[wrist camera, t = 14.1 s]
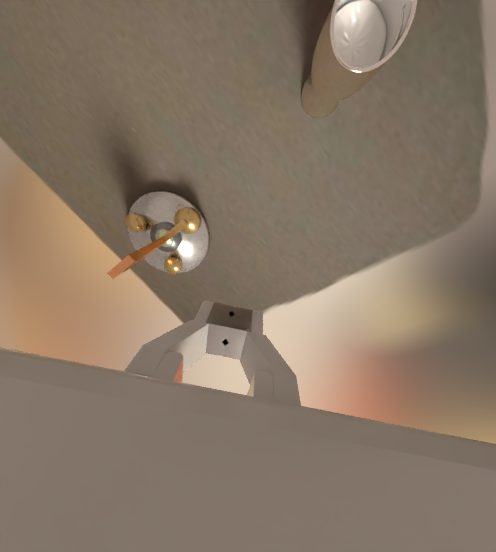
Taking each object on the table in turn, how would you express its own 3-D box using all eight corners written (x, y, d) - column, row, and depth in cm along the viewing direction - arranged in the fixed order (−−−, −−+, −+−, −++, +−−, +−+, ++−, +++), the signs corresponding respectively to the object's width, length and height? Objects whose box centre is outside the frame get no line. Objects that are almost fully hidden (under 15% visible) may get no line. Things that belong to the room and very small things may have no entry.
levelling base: (115, 207, 39) (104, 209, 36) (187, 177, 35) (181, 177, 32) (158, 277, 46) (151, 284, 43) (222, 258, 42) (219, 264, 39)
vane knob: (190, 201, 35) (157, 210, 24) (206, 222, 37) (182, 240, 26) (143, 241, 40) (97, 264, 29) (159, 259, 41) (122, 287, 30)
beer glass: (353, 99, 28) (431, 28, 15) (311, 133, 31) (347, 96, 17) (333, 46, 26) (406, -93, 13) (289, 87, 28) (312, 4, 15)
